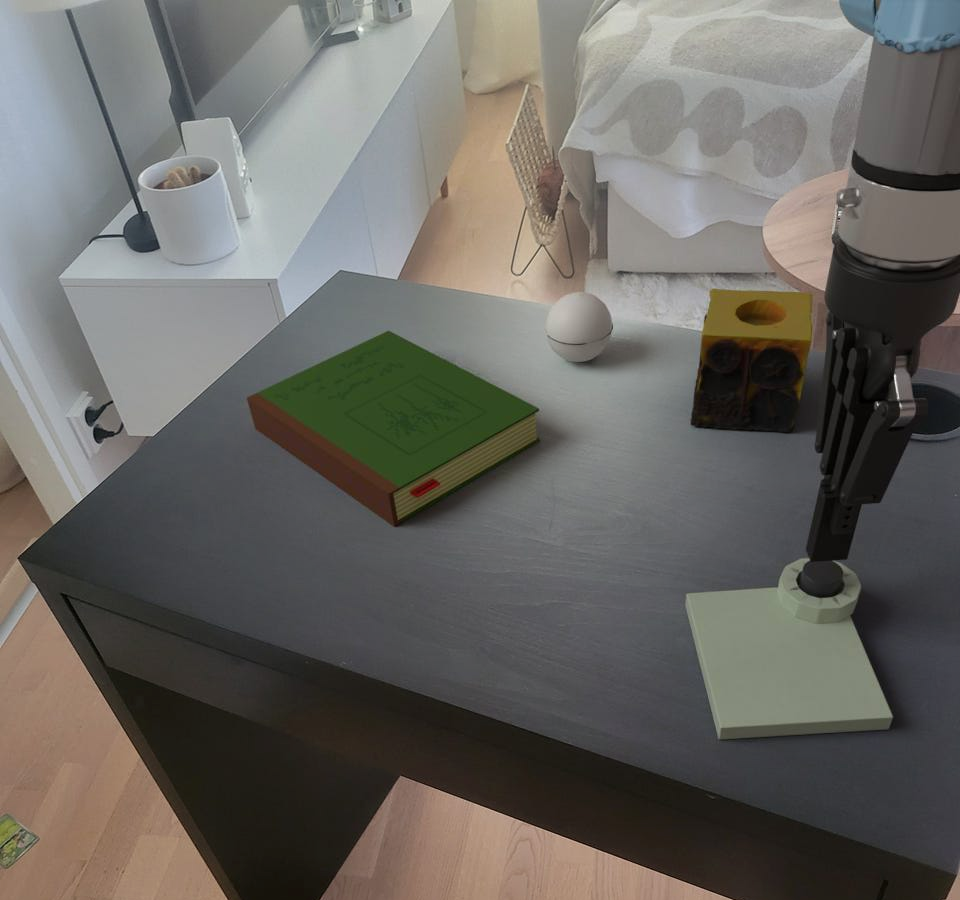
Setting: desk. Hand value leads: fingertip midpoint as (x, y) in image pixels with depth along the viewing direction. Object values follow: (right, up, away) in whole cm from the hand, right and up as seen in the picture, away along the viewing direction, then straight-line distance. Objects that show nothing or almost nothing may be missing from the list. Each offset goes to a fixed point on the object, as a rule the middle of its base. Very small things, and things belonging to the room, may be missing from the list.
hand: (826, 554), depth 72 cm
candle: (+1, +18, +26) cm, 31 cm away
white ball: (-14, +24, +34) cm, 44 cm away
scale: (-3, -8, +1) cm, 9 cm away
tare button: (0, -2, +2) cm, 3 cm away
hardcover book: (-35, +15, +26) cm, 46 cm away
